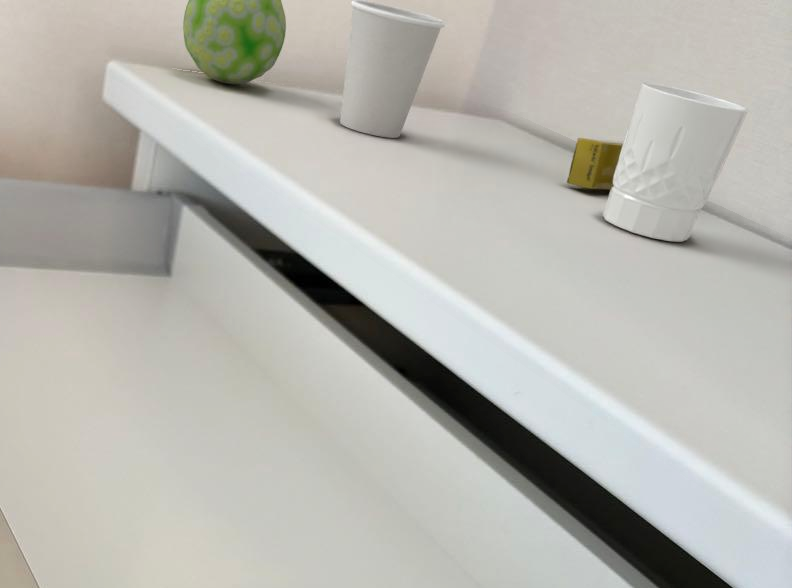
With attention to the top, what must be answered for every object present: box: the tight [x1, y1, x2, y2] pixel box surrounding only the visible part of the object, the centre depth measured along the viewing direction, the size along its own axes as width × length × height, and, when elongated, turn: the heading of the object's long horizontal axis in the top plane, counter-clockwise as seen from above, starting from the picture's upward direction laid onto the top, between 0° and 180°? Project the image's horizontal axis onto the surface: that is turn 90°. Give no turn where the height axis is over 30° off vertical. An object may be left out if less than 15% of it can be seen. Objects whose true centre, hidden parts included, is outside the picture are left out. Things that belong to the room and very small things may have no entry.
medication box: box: [566, 137, 624, 191], centre depth 97 cm, size 12×3×4 cm, turn 130°
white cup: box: [602, 82, 749, 243], centre depth 84 cm, size 8×8×10 cm
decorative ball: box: [182, 0, 287, 85], centre depth 104 cm, size 10×10×10 cm
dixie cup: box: [339, 0, 445, 139], centre depth 98 cm, size 8×8×10 cm
